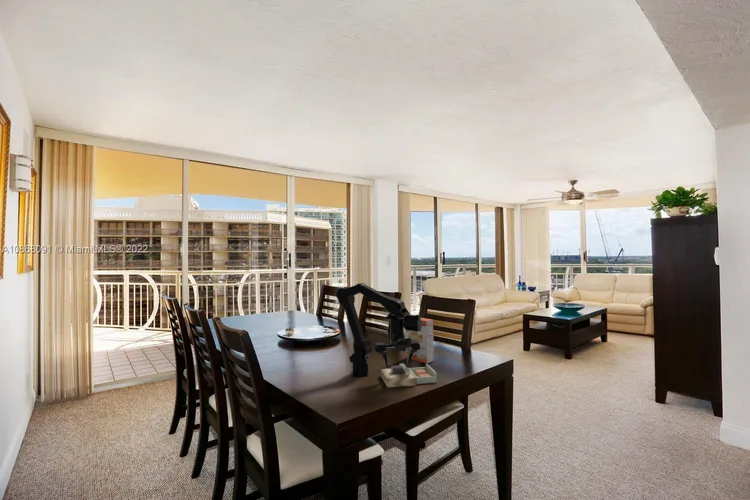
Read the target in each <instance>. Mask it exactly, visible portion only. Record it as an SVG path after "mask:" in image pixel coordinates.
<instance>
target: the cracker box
mask: <svg viewBox="0 0 750 500" xmlns="http://www.w3.org/2000/svg"><path fill="white" fill-rule="evenodd" d="M420 318H421V322H422V328H421V331H420V332H419V331H407V330H406V329H404V337H405V339H406V338H411V341H417V342H418V343H419V344H420V350H417V352H415V353H414V354H413V356H412V358H411V360H412V361H415V362H419V363H422V364H423V363H424V364H425V365H426V364H429V363H433V362H434V360H435V359H434V356H435V355H434V353H435V351H434V320H433V319H432V318H431V319H430V318H425V317H420ZM404 354H405V355H404V359H407V351H404Z"/></svg>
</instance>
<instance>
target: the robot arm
mask: <svg viewBox="0 0 750 500" xmlns="http://www.w3.org/2000/svg"><path fill="white" fill-rule="evenodd" d="M359 294H360V295H363V296H364V297H367V298H368V299H370V300H372V301H374V302H376V303H378V305H379V304H380V305H381V307H383V308H384V309H385V310H386V311H387V312H388V314H387V316H385V320H389V326H390V327H389V330H390V331H389V336H390V337H389V338H390V339H389V342H390V343H388V344H386V343H385V342H383V341H382V342H381V341H380V342H375V343H374V345H373V344H372V341H371V339H370V338H369V337H368V338H367V337H366V336H365V335H364V331H363V328H362V326H361V321H360V319H359V315H358V313H357V310H356V306H355V302H356V301H355V300H356V297H355V296H356V295H359ZM335 296H336V299H337V300H338V303H339V304H340V306H341V307H342V308H343V309H344V312H345V316H346V319H347V322H348V325H349V329H350V331H351V335H352V338H353V353H352V354H351V355H350V356H349V357H348V360H349V362H350V363H351V376H352V377H353V378H357V377H368V375H369V374H368V373H369V362H368V360H367V359H369V356H370V355H371V354H372V352H373V347H374V350H375V352H376V353H378V354H379V355H381V357H382V358H383V362H384V364H385V367H386V368H388V356H387V350H393V349H394V351H395V352H396V353H399V352H405V351H407V358H406V364H407V366H406V367H409V366H410V363H411V358H412V356H413V354H414V353H415V352H417V350H420V344H419V343H418V342H417V341H411V338H406V339H405V329H406V330H407V331H419V332H420V331H421V328H422V322H421V318H422V317H421V315H420V314H410V311H408V309H407V308H406V305H405V302H404V301H403V299H399V298H396V297H393V296H388V295H386V294H384V293H382V292H380V291H378V290H376V289H375V288H373V287H371V286H369V285H367V284H366V283H365V282H360V283H357V284H355V285H352V286H347V287H346V286H345V287H341V288H338V289H337V290H336V294H335Z"/></svg>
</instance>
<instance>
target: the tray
mask: <svg viewBox="0 0 750 500" xmlns="http://www.w3.org/2000/svg"><path fill="white" fill-rule="evenodd" d="M408 368H409V370H410V371H411V372H412V373H413V374H414V376H415V377H416V385H419V384H432V383H433V384H435V383H437V380H438V379H437V378H438V377H437V371H436V370H434V369H433V368H432V367H431V366H430V365H429V363H427V364H426V363H425V366H422V367H419V366H418V367H408ZM418 369H424V370H425V371H426V374H429V375H430V376H429V377H419V376H417V375H416V374H415V370H418Z"/></svg>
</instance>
